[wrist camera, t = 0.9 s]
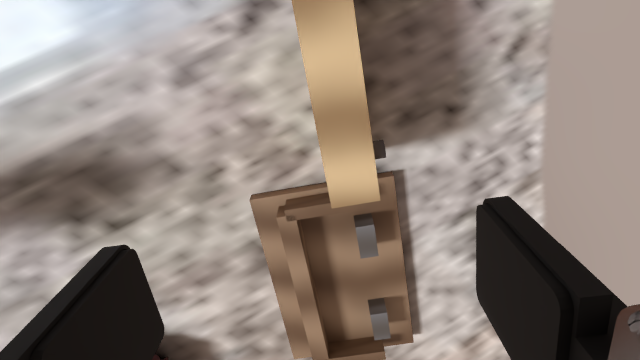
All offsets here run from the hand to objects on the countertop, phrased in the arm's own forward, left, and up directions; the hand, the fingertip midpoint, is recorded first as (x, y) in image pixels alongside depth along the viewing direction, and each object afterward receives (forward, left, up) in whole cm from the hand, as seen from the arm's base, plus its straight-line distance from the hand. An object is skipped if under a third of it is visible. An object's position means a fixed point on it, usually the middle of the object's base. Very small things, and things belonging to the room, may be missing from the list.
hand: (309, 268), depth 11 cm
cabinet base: (+16, -1, -21) cm, 26 cm away
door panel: (-1, +2, -21) cm, 22 cm away
